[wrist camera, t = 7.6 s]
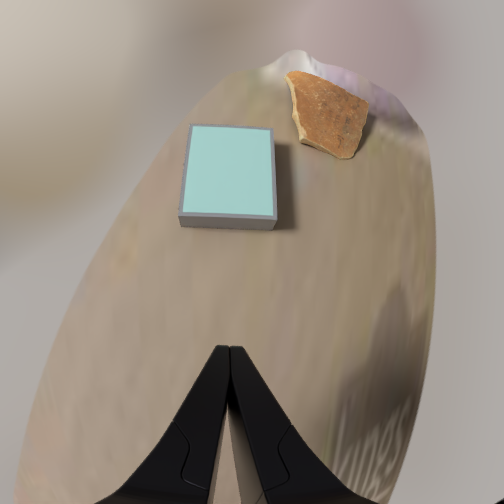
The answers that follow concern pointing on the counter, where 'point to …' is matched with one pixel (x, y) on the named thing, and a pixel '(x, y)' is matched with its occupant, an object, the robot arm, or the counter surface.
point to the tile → (229, 178)
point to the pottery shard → (326, 114)
